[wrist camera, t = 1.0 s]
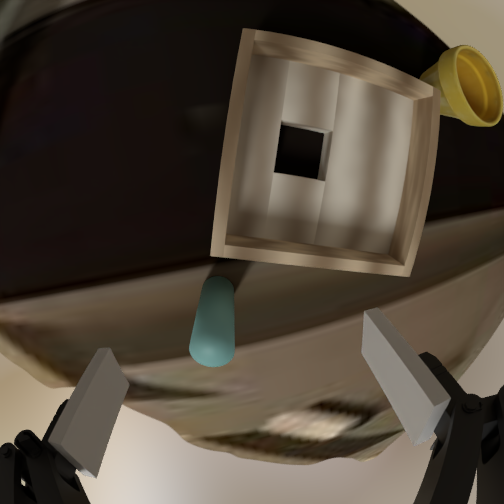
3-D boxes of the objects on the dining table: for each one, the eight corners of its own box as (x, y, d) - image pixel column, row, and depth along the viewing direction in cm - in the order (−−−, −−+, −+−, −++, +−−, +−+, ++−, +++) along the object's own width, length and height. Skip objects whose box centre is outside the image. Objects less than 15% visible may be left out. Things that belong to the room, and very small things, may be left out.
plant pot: (467, 107, 28) (511, 105, 19) (436, 140, 30) (485, 141, 20) (431, 50, 25) (473, 35, 16) (395, 77, 27) (440, 60, 18)
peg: (201, 302, 35) (189, 364, 24) (203, 274, 34) (189, 329, 22) (232, 306, 35) (232, 368, 24) (235, 277, 34) (236, 334, 23)
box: (215, 235, 32) (210, 255, 26) (241, 53, 26) (243, 28, 19) (382, 256, 35) (409, 276, 28) (408, 98, 28) (440, 90, 21)
